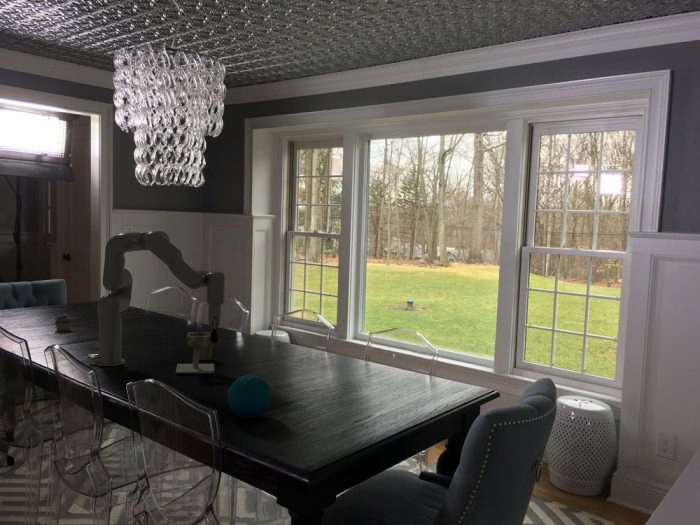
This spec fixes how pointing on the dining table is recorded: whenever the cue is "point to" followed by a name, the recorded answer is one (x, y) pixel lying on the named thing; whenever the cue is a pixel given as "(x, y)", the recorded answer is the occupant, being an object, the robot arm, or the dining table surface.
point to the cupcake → (63, 323)
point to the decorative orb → (249, 396)
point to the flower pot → (205, 352)
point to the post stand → (195, 365)
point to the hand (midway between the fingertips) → (214, 340)
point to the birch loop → (200, 339)
